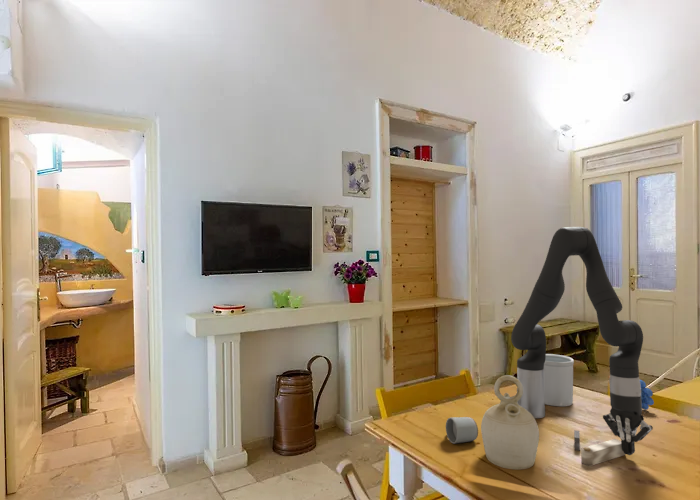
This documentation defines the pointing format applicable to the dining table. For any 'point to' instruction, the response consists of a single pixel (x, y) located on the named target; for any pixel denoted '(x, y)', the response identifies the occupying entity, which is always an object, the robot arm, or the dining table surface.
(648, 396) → the grapes
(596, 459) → the folding leg
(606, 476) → the dining table surface
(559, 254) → the robot arm
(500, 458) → the jug
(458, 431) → the ceramic mug
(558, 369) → the utensil holder
